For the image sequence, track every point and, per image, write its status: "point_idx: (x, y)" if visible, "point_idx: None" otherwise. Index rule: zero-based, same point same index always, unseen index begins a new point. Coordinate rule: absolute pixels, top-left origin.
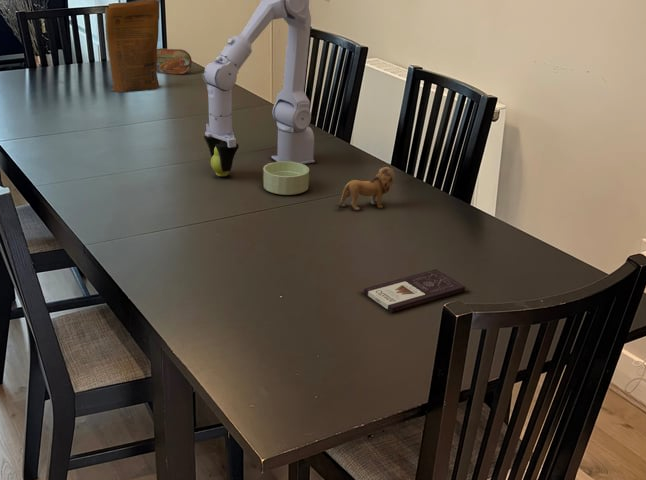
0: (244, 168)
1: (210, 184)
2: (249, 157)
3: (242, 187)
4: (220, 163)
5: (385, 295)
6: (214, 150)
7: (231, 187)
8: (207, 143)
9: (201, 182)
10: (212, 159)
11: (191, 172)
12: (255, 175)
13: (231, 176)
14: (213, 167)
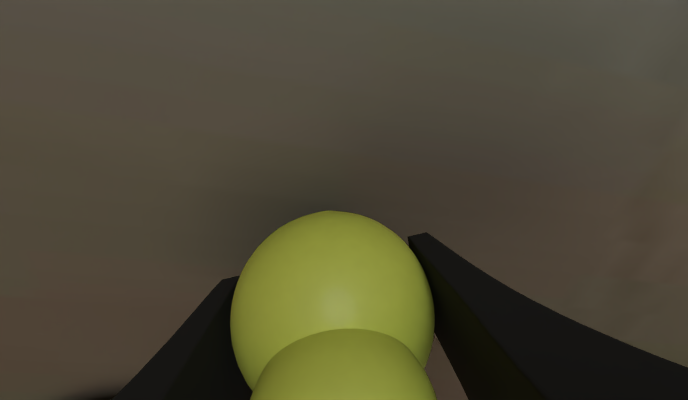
0: None
1: (170, 144)
2: None
3: (130, 315)
4: (231, 314)
5: None
6: (328, 392)
7: (121, 265)
8: (620, 365)
9: (216, 79)
10: (307, 269)
11: (468, 34)
12: None
13: None
14: (283, 227)
